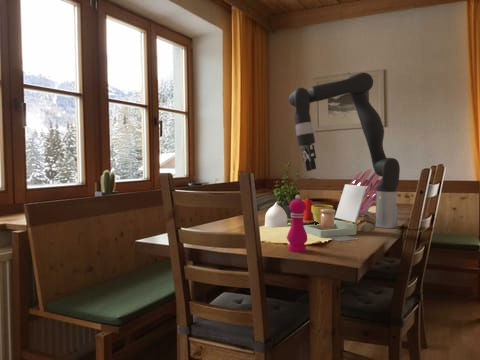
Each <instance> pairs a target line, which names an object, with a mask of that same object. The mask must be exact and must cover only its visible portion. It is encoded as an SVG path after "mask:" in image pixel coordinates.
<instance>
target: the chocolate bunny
mask: <svg viewBox="0 0 480 360" xmlns="http://www.w3.org/2000/svg"><path fill="white" fill-rule="evenodd" d="M370 212H371V211H369V210H367V211H366V212H365V213H364V214H363V217H364V219H365V221H364V222H363V223H361V224H360V226H359V227H358V229H357V230H358V232H371V233H375V228H376V227H377V226H376V218H375V217H374V216H375V215H371V213H370Z"/></svg>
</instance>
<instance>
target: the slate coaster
mask: <svg viewBox="0 0 480 360" xmlns="http://www.w3.org/2000/svg"><path fill="white" fill-rule="evenodd" d="M326 238H327V239H330V240H334V241H337V242H340V243H342V242H346V244H348V243H351V242H352V241H359V239H358V238H356V237H352V236H350V235H341V236H329V237H326Z"/></svg>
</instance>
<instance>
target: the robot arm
mask: <svg viewBox="0 0 480 360" xmlns="http://www.w3.org/2000/svg"><path fill="white" fill-rule="evenodd" d="M373 86H374V79H373V77H372V75H371V74H370V73H368V72H359V73H356V74H353V75H351V76H349V77H348V78H346V79H343V80H337V81H331V82H324V83H320V84H316V85H313V86H310V87H309V88H307V89H306V88H304V87H298V88H296V89H295V90H294V91H292V92H291V93H290V94H289V97H288V102H289V104H290V105H291V106H292V107H295V111H294V114H293V119H294V125H295V133H296V141H297V144H298V145H297V146H300V147H302V149H301V151H300V152H301V155H302V161H303V163H304V165H305V168H306V169H305V170H306V171H307V172H311V171H312V170H316V169H317V165H316V159H317V156H316V149H315V143H316V140H315V132H314V127H313V124H312V120H311V119H312V118H311V114H310V109H311V106H310V104H312V103H315V102H320V101H324V100H329V99H333V98H335V97H339V96H342V95H347V94H349V95H350V97H351V100H352V102H353V105H354V107H355V110H356V113H357V116H358V120H359V121H360V122H359V123H360V125H361V129H362V131H363V135H364V137H365V140H366V144H367V147H368V150H369V154H370V158H371V164H372V167H373V168H372V169H373V170H374V172H375V173H376V174H377V175H378V176H380V177H381V178H382V182H381V183H380V184H378V185H377V188H376V201H375V213H376V215H375V216H376V224H375V225H376V227H377V228H382V229H394V228H398V216H399V215H398V214H399V211H398V209H399V207H398V206H397V193H398V192H397V191H398V190H397V189H398V187H399V184H400V172H401V171H400V169H401V167H400V163H399V161H398V160H397V159H396V158H393V157H387V155H386V154H385V150H384V145H383V144H384V143H383V142H384V137H385V128H384V125H383V122H382V118H381V116H380V114H379V113H378V112H377V110H376V109H375V108H374V107H373V105H372V104H371V103H370V101H369V99H368V95H367V92H369V91H370V90H371V89H372V88H373Z"/></svg>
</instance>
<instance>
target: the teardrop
mask: <svg viewBox="0 0 480 360" xmlns="http://www.w3.org/2000/svg"><path fill="white" fill-rule="evenodd" d="M264 226H265V227H266V228H287V227H289V226H288V214H287V213H286V211H285V210H284V208H283V207H281V206H280V205H279V204H278V202H277V201H276V202H275V203H274V205H272V206H271V207H270V208H268V210H267V211H266V213H265V218H264Z"/></svg>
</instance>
